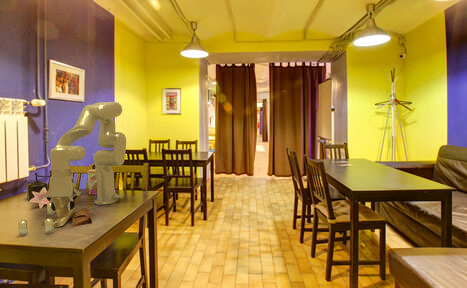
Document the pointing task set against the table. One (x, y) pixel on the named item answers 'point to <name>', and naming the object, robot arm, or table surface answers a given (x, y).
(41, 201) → the lily
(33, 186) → the manual coffee grinder
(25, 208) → the table surface
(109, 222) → the table surface
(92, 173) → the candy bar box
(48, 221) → the light bulbs
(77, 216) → the sunglasses case
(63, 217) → the beige t-shaped block
